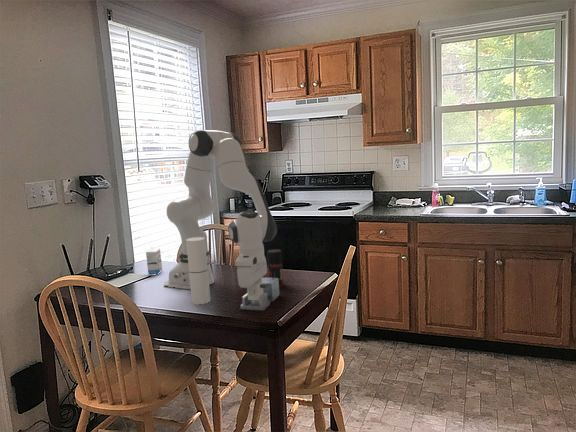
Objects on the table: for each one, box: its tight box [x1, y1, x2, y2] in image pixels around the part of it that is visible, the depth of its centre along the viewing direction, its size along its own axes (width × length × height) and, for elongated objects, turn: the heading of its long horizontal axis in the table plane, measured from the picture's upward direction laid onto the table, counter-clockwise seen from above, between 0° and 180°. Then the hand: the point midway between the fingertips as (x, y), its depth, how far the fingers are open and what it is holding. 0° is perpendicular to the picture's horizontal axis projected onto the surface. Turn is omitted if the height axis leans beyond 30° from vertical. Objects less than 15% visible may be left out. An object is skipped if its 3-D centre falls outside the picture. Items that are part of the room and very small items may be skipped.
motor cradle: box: [240, 276, 280, 311], centre depth 181 cm, size 20×9×7 cm, turn 162°
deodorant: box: [266, 248, 284, 288], centre depth 200 cm, size 6×6×15 cm
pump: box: [246, 281, 266, 300], centre depth 174 cm, size 4×6×6 cm
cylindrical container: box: [186, 237, 211, 306], centre depth 183 cm, size 7×7×25 cm
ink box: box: [145, 248, 163, 275], centre depth 235 cm, size 9×5×12 cm, turn 179°
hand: (255, 292), depth 174 cm, fingers closed on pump, 4 cm apart
